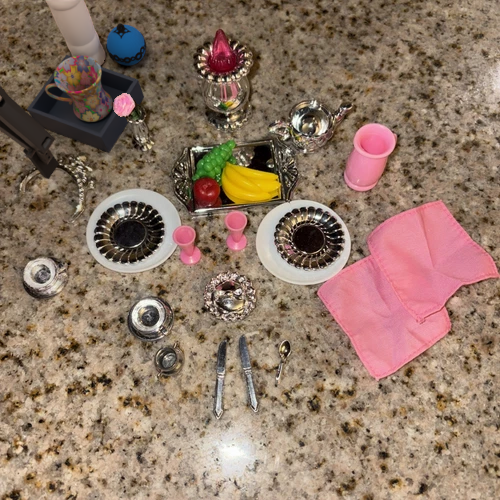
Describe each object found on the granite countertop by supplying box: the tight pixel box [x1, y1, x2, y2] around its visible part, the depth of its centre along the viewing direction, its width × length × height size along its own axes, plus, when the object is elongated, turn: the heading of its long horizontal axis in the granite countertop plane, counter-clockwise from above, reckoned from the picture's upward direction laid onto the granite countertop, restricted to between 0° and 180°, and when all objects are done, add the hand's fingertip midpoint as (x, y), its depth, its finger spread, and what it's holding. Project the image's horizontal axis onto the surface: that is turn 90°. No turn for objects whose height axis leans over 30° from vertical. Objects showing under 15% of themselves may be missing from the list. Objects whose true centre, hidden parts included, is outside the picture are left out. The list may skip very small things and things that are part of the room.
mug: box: [45, 56, 113, 122], centre depth 101 cm, size 12×9×11 cm
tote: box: [26, 54, 145, 154], centre depth 104 cm, size 18×16×6 cm
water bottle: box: [44, 0, 106, 67], centre depth 100 cm, size 7×7×25 cm
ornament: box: [105, 22, 147, 67], centre depth 107 cm, size 9×9×10 cm
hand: (10, 154), depth 69 cm, fingers open, 13 cm apart
